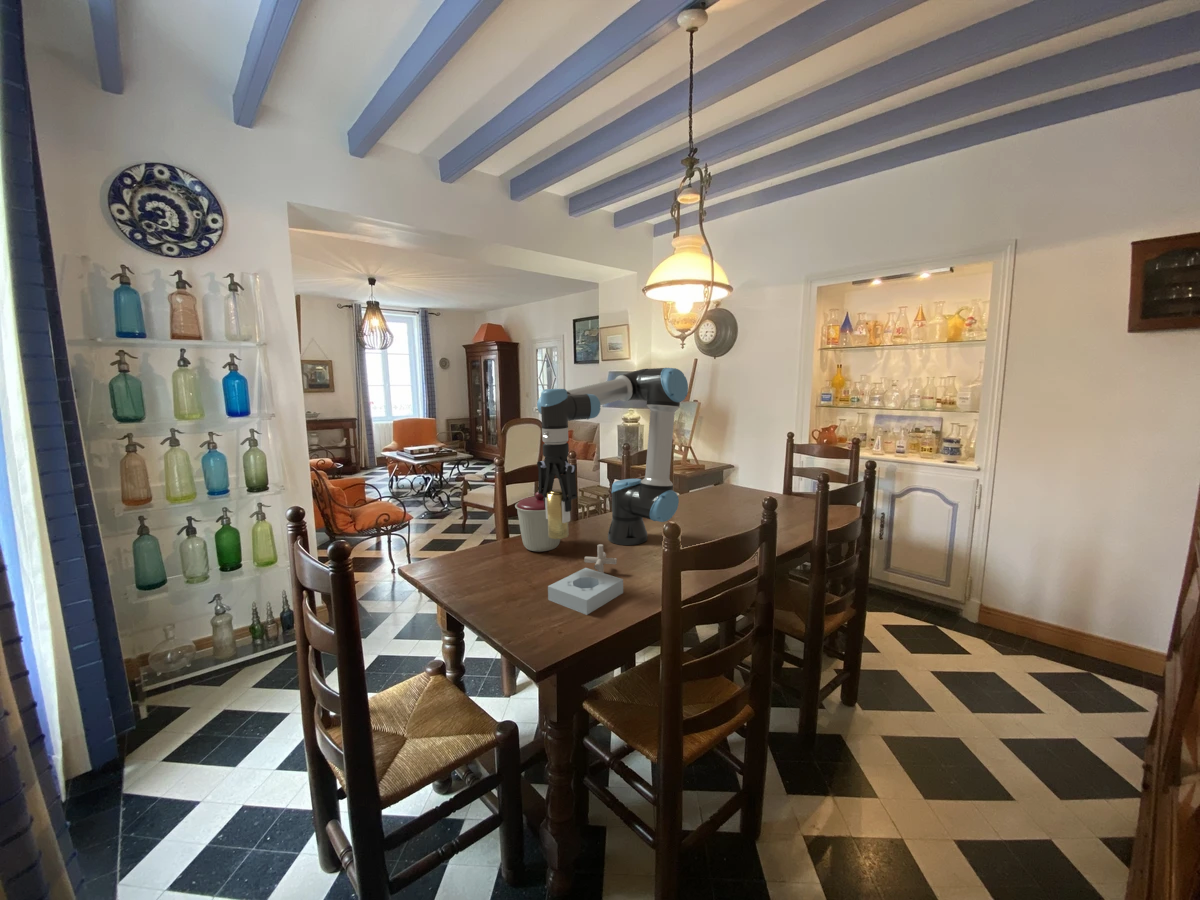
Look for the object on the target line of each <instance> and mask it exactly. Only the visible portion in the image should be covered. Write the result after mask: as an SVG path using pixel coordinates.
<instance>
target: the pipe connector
mask: <svg viewBox="0 0 1200 900" xmlns="http://www.w3.org/2000/svg"><path fill="white" fill-rule="evenodd" d="M596 546H597V550H596V551H597V556H584V560H583V562H584V563H588V564H590V563H591V564H594V570H596V571H598V572H601V573H605V570H604V569H605V566H604V564H607V565H617V560H618V558H617V557H616V558H615V557H614V558H613V557H607V553H606V552H605V551H604V544H601V543H600V544H597V545H596Z"/></svg>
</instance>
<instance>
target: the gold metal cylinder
mask: <svg viewBox="0 0 1200 900" xmlns="http://www.w3.org/2000/svg"><path fill="white" fill-rule="evenodd" d="M562 500H564V499H563V495H562V491H561V488H558V489H557V488H556V489H552V490H551V491H549V492H548V493H547V513H548V537H549V538H552V539H560V540H562V539H566V538H568V537H569V536H570V535H569V522H566V523H562Z"/></svg>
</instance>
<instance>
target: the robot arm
mask: <svg viewBox="0 0 1200 900" xmlns="http://www.w3.org/2000/svg"><path fill="white" fill-rule="evenodd" d="M688 393H689V384H688V379H687V377H686V376H685V374H684V372H683V371H682V370H680V369H679V368H675V367H658V368H657V367H656V368H655V367H654V368H642V369H638V370H635V371H631V372H627V373H624V374H621V375H617V376H616V377H615V378H614V379H610V380H607V381H603V382H599V383H594V384H591V385H590V384H589V385H586V386H582V387H577V388H574V389H568V390H567V389H566V388H545V389H543V390H542V391H541V393H540V394H541V395H540V397H539V398H538V399H537V402H536V405H537V411H538V412H539V414H540V415H541V435H542V436H541V437H542V438H541V439H542V442H543V443H542V456H543V458H544V459H543V460H541V461H537V462H536V464H537V465H536V466H537V469H538V474H537V475H538V486H537V487H538V488H537V489H538V491H537V492H538V493H539V494H542V495H543V497H544V506H545V508H546V519H548V513H547V493H548V492H549V491H551V490H553V487H554V483H555V477H556V479H558V482H559V486H560V489H561V491H562V495H563V499H564V500H562V523H566V522H568V523H569V522H571V511H572V500H575V499H577V498H578V494H577V493H578V492H577V481H576V470H577V465H576V464H571V463H569V460H568V457H569V455H570V452H569V450H570V447H569V446H570V445H569V443H568V441H569V422H570V421H579V420H580V421H581V420H590V419H596V417H598V416H599V415H600V412H601V406H603V405H607V404H611V403H614V402H617V401H620V402H624V403H625V402H628V401H645V402H646V407H647V408H648V409H649V410H650V411H649V423H648V434H647V435H648V436H647V438H648V439H647V450H646V461H645V463H646V464H645V475H644V477H643V478H642V479H641V478H625V479H619V480H615V481H613V483H612V485H611V513H612V514H611V523H610V525H609V529H608V531H607V540H608V541H609V542H610V543H613V544H615V545H619V546H620V545H621V546H635V545H640V544H643V543H646V541H648V532H647V529H646V525H645V522H644V519H648V520H651V521H653V522H659V523H666V522H668V521H669V520H671V519H672V518H673V516H674V515H675V514H676V512H677V510H678V507H679V501H680V499H679V496H678V494H677V492H676V491H674V490H673V489H674V484H673V482H672V481H671V479H670V475H671V463H672V462H671V460H672V447H673V437H674V425H675V423H674V422H675V414H676V413H675V412H677V410H678V409H680V407H681V406H680V403H682V402H683V401H684V400H685V399H686V397H687V396H688Z"/></svg>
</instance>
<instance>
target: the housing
mask: <svg viewBox="0 0 1200 900" xmlns="http://www.w3.org/2000/svg"><path fill="white" fill-rule="evenodd" d="M622 594H624V579H623V578H620V577H617V576H613V575H611V574H607V573H605V572H604V573H601V572H598V570H596V569H591V568H588V567H584V568H582V569H580V570H577V571H576V572H574V573H572V574H570V575H568V576H565V577H564V578H562V579H560V580H557V581H555V582H554V583H552V584H549V585H547V599H548V601H549V602H553V603H555V604H558V605H560V606H562V607H565V608H568V609H571V610H573V611H576V612H578V613H581V614H583V615H586V616H587V615H589V614H591V613H593V612H594V611H596V610H598V609H599V608H600V607H603V606H604V605H606V604H607V603H610V601H612V600H613V599H616V598H617V597H619V596H621V595H622Z"/></svg>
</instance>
